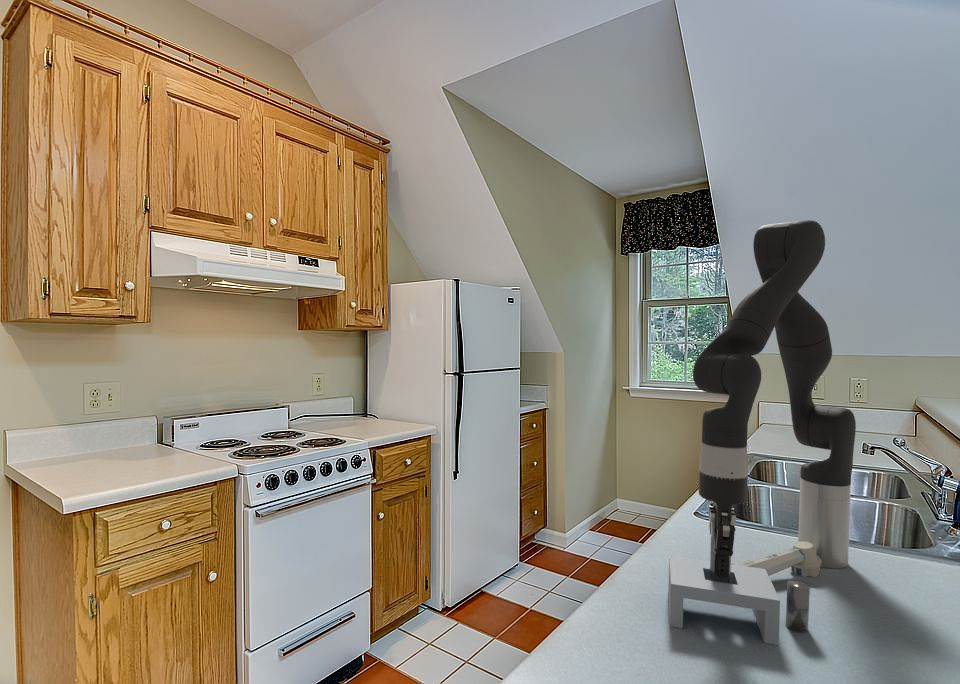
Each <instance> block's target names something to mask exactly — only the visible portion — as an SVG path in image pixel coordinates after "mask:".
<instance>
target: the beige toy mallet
mask: <svg viewBox="0 0 960 684" xmlns="http://www.w3.org/2000/svg"><path fill="white" fill-rule="evenodd" d="M821 563H822V562H821V559H820V558H819V556H816V551H815V548H814V546H813V545H812V543H809V542H804V541H802V542H798V541H797V542H794V544H793V546H792V548H789V549H784V550H782V551H778V552H774V553H771V554H768V555H763V556H761V557H758V558H754V559H750V560H748V561H743V562H740V563H733V562H731V564H732V565H739V566H746V567H754V568H761V569H766V571H767V573H768V576H769V577H770V576H772V575H774V574H777V573H779V572H781V571H784V570H786V569H788V568H790V571H791V572H792V573H793V574H795V575H797V576H799V577H804V578H807V577H812V578H816V577H817V576H819V573H821V571H820V569H821V566H820V565H821ZM730 584H731V583H730Z"/></svg>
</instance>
